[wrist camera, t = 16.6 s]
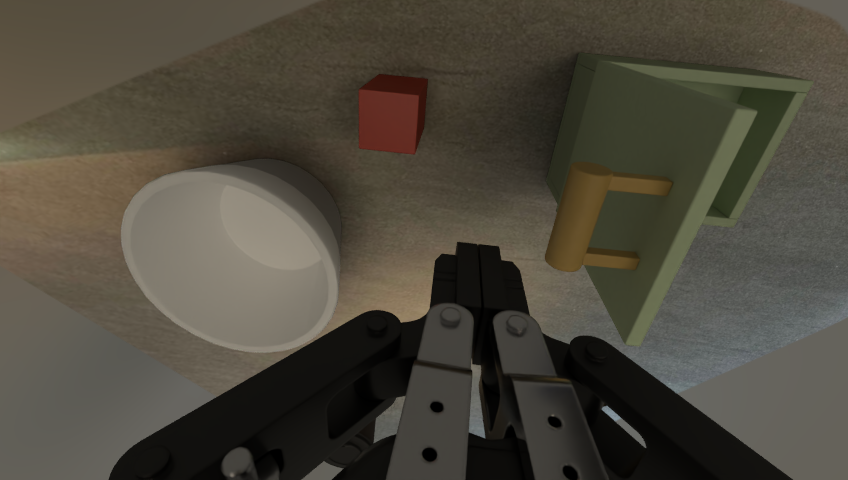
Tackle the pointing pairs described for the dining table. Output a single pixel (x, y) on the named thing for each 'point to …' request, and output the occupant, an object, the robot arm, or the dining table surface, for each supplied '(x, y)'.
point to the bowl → (238, 252)
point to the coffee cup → (353, 447)
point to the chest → (742, 86)
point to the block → (392, 113)
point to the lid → (641, 187)
